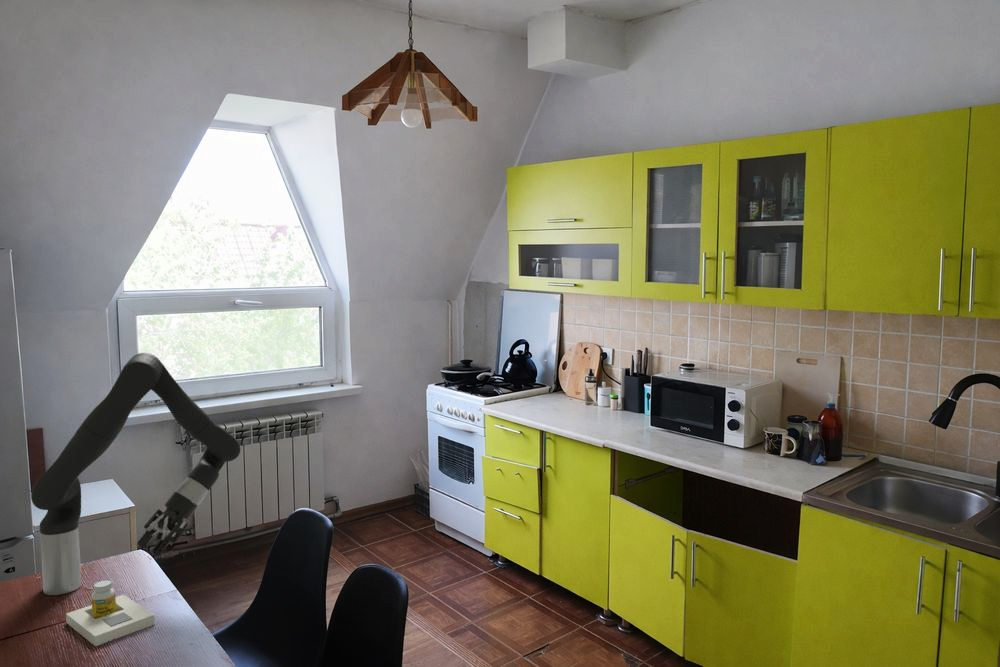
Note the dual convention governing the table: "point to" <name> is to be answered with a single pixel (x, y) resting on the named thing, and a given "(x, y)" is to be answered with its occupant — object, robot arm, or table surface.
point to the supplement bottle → (103, 599)
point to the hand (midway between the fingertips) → (147, 550)
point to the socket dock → (110, 621)
